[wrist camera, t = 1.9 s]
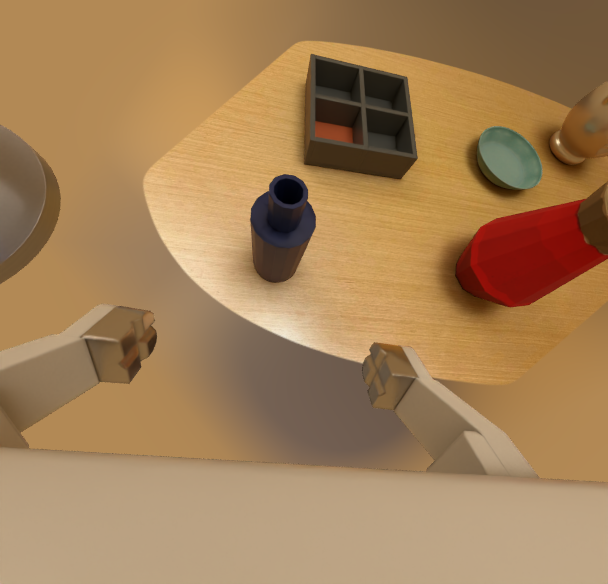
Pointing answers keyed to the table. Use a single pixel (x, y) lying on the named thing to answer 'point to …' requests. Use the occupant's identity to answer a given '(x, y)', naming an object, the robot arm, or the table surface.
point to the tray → (358, 119)
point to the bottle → (535, 251)
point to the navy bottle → (281, 228)
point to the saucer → (508, 159)
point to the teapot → (584, 129)
